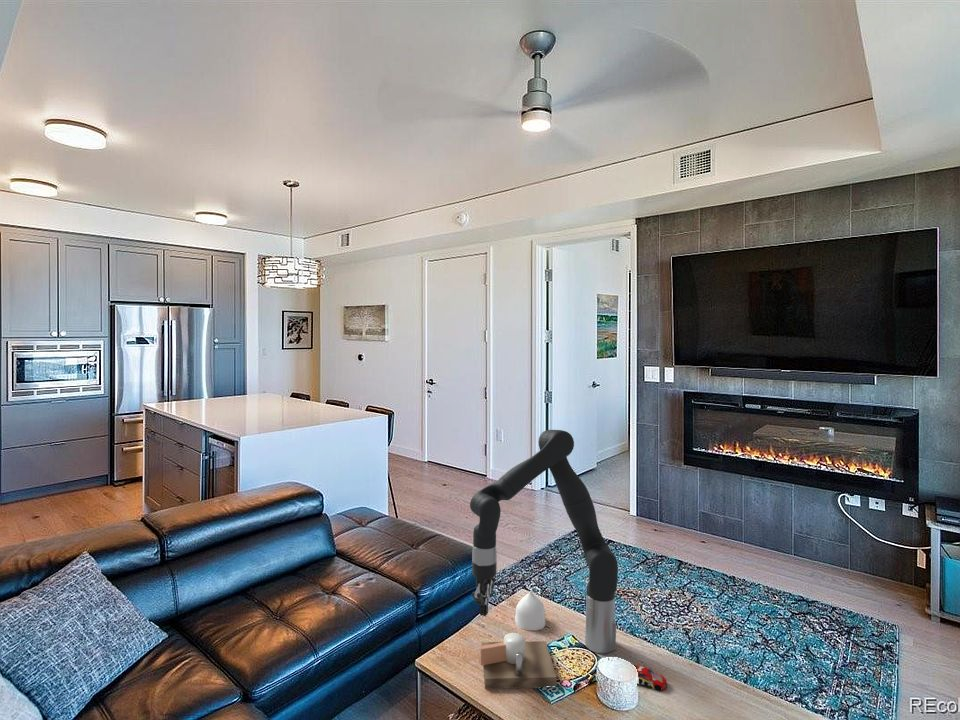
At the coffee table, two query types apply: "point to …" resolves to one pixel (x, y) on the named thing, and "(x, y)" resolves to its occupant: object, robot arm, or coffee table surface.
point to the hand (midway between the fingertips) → (483, 614)
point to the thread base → (522, 669)
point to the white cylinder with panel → (503, 650)
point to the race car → (650, 678)
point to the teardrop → (530, 613)
